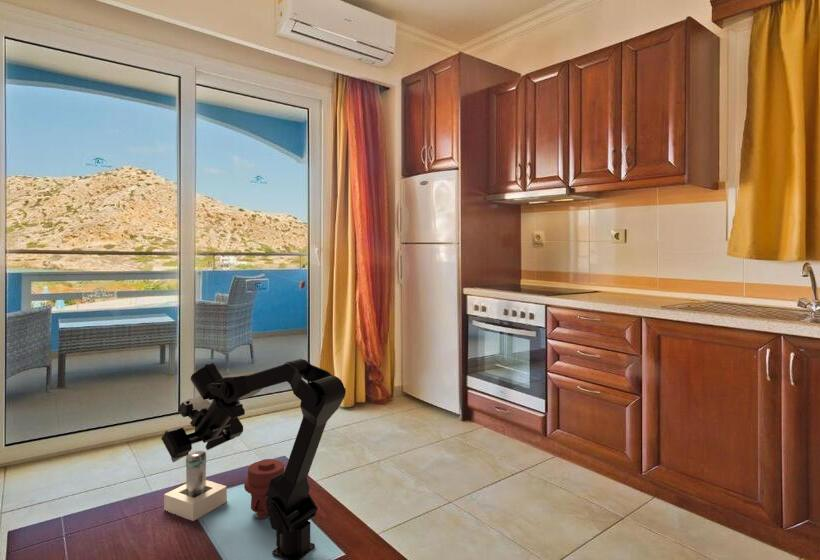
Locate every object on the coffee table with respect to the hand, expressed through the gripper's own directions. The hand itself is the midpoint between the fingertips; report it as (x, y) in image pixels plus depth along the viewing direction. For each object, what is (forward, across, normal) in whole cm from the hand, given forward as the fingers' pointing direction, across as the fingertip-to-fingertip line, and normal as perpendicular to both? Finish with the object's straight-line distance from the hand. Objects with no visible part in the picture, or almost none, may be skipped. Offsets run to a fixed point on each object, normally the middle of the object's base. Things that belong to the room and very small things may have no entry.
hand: (190, 454), depth 118 cm
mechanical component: (-1, -9, +22) cm, 23 cm away
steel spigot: (+10, -1, +9) cm, 13 cm away
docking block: (+10, -1, +9) cm, 13 cm away
